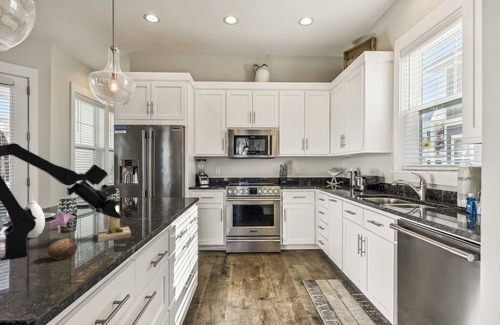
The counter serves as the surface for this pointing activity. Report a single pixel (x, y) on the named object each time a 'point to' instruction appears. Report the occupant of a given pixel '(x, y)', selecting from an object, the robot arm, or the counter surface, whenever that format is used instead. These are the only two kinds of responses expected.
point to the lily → (62, 219)
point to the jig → (114, 234)
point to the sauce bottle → (39, 221)
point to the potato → (62, 249)
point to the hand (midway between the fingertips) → (117, 216)
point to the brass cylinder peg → (114, 223)
